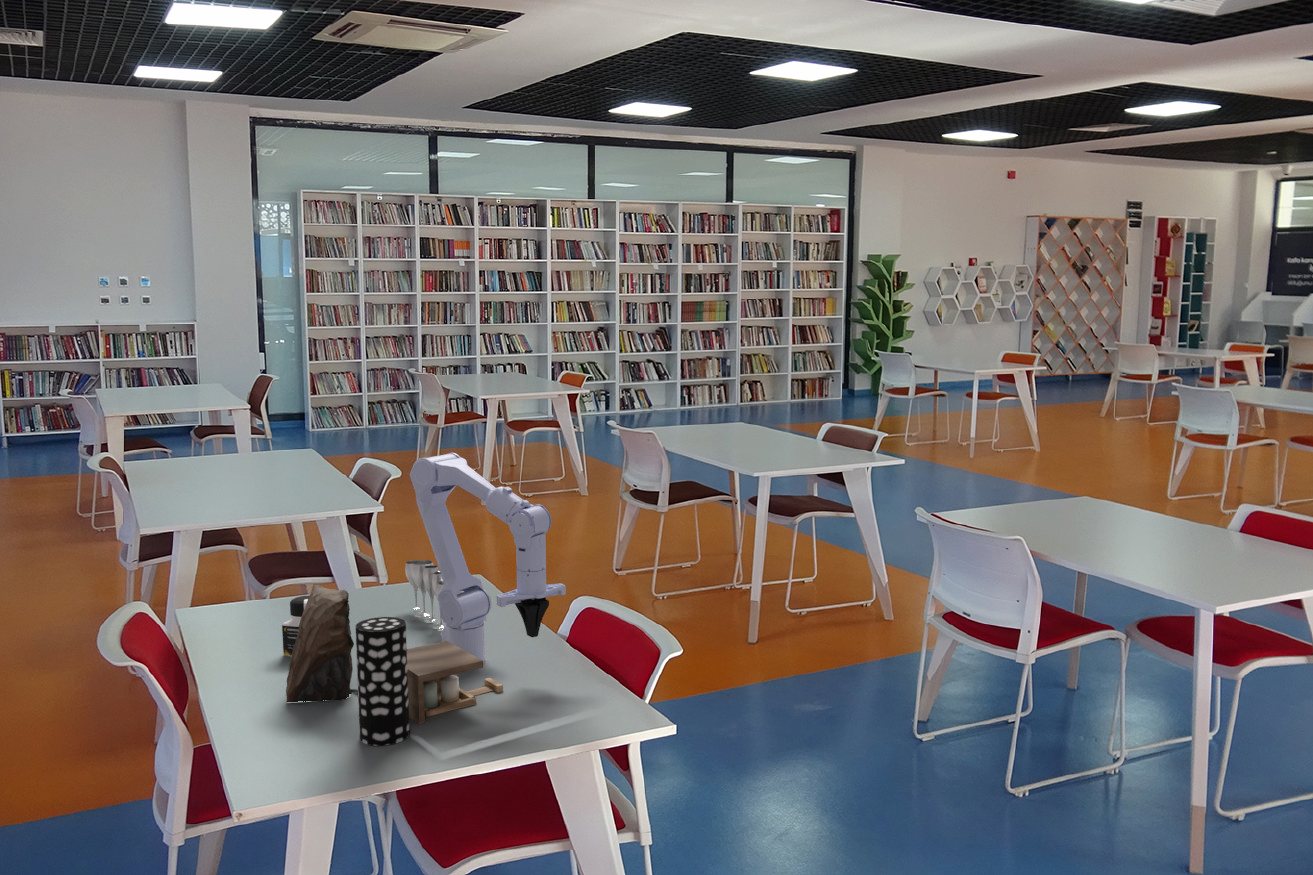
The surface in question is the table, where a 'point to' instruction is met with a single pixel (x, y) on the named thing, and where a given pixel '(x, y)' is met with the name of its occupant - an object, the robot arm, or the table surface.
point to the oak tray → (464, 697)
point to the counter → (434, 670)
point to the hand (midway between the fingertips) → (532, 635)
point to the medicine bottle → (293, 624)
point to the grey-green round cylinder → (430, 694)
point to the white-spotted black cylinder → (382, 680)
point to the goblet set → (425, 582)
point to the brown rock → (322, 649)
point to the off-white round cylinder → (449, 688)
